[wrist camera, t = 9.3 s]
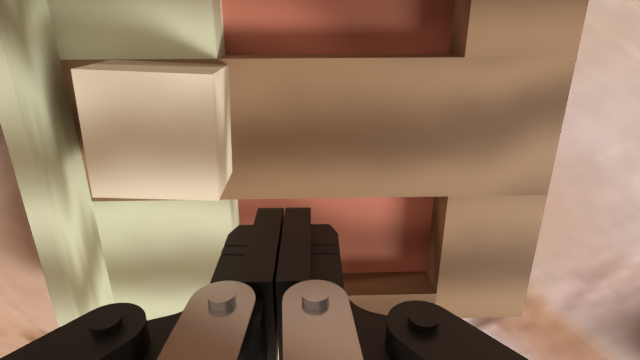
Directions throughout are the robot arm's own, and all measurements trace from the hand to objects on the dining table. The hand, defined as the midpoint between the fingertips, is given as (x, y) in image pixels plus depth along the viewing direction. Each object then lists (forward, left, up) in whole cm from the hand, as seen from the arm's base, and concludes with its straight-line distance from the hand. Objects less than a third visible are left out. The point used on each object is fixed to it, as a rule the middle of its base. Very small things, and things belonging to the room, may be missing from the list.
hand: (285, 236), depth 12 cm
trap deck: (0, +1, -15) cm, 15 cm away
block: (-1, -7, -12) cm, 14 cm away
